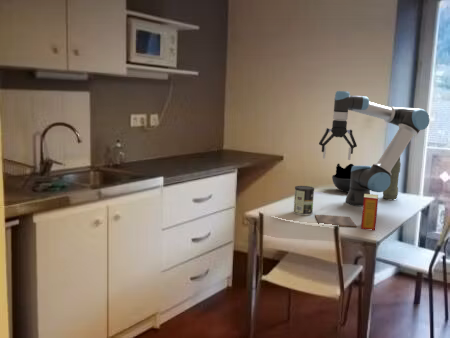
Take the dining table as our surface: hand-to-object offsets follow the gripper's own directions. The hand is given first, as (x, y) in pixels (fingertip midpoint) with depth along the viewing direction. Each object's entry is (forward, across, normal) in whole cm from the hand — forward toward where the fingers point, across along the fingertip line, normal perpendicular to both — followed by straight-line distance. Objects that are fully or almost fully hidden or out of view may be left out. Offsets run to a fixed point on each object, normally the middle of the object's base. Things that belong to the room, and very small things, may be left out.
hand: (336, 159), depth 263 cm
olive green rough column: (+28, -44, -43) cm, 67 cm away
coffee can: (+29, +17, +10) cm, 35 cm away
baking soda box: (+29, -13, +31) cm, 44 cm away
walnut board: (+29, +2, +24) cm, 38 cm away
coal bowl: (+29, -19, -57) cm, 67 cm away
